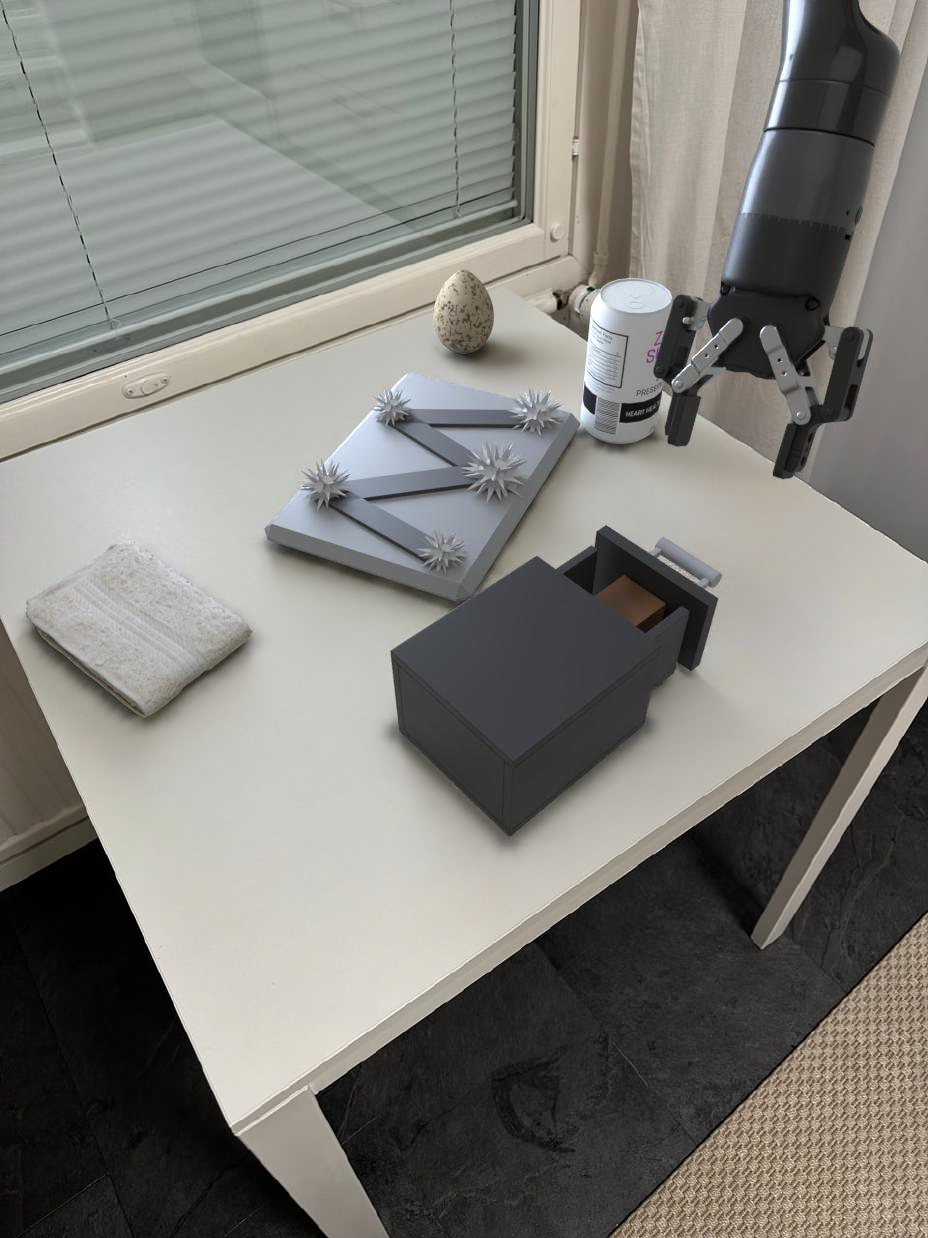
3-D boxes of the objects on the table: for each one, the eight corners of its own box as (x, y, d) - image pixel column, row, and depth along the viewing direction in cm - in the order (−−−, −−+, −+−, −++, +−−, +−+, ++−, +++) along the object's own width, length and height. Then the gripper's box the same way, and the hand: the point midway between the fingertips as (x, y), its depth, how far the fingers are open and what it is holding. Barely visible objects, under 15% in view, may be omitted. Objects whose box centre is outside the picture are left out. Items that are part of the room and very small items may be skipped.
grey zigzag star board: (406, 385, 103) (402, 329, 98) (582, 430, 97) (588, 372, 91) (260, 546, 85) (246, 487, 79) (466, 614, 78) (465, 555, 73)
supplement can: (581, 401, 100) (594, 273, 89) (655, 406, 100) (677, 277, 89) (577, 444, 95) (590, 313, 84) (656, 450, 94) (679, 318, 83)
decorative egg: (445, 331, 111) (442, 252, 104) (500, 339, 110) (501, 260, 102) (427, 361, 107) (423, 281, 99) (484, 369, 105) (484, 289, 98)
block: (658, 640, 73) (666, 603, 70) (622, 668, 71) (629, 631, 68) (617, 611, 76) (624, 574, 72) (582, 637, 74) (586, 600, 70)
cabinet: (531, 636, 76) (536, 554, 69) (644, 725, 70) (662, 645, 63) (398, 730, 70) (389, 650, 63) (509, 837, 63) (513, 762, 56)
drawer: (633, 565, 81) (645, 498, 75) (736, 634, 75) (757, 567, 69) (484, 670, 73) (484, 604, 67) (587, 757, 67) (597, 693, 61)
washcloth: (130, 552, 84) (120, 527, 82) (261, 638, 77) (254, 614, 74) (19, 625, 78) (6, 601, 76) (150, 728, 70) (139, 704, 68)
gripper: (673, 198, 60) (618, 437, 66) (884, 221, 51) (799, 493, 57) (726, 214, 65) (670, 434, 71) (925, 238, 57) (842, 485, 63)
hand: (728, 460), depth 64 cm, fingers open, 8 cm apart
